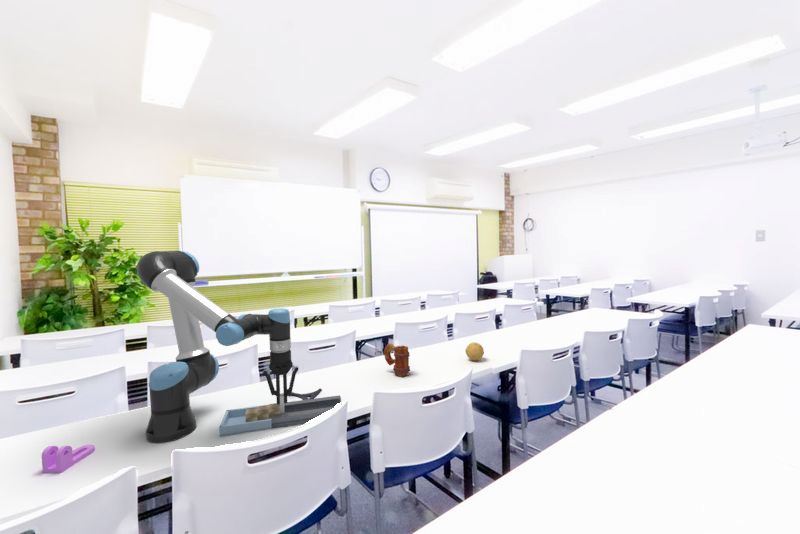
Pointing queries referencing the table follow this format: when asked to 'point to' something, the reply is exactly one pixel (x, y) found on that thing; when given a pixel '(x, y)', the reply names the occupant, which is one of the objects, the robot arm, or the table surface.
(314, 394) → the bracket
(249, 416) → the wooden cube
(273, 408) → the wooden cube
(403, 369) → the mug
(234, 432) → the tray
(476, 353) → the stress ball
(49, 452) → the bracket
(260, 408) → the wooden cube
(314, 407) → the slot bed
